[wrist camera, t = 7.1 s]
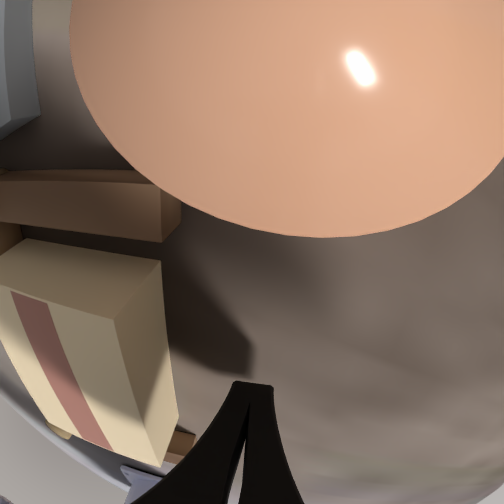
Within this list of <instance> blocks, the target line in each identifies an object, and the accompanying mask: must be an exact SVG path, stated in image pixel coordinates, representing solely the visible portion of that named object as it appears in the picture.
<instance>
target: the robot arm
mask: <svg viewBox="0 0 504 504" xmlns="http://www.w3.org/2000/svg"><path fill="white" fill-rule="evenodd" d="M273 392H274V388H273V387H272V386H271V385H264V384H256V383H249V382H242V381H235V382H233V384H232V386H231V389H230V391H229V393H228V395H227V397H226V399H225V401H224V403H223V405H222V406H221V408H220V410H219V412H218V413H217V415H216V416H215V418H214V419H213V421H212V422H211V424H210V425H209V427H208V428H207V430H206V431H205V432H204V434H203V435H202V436H201V437H200V439H199V440H198V441H197V443H196V444H195V445H194V446H193V448H192V449H191V450H190V451H189V452H188V453H187V455H186V456H185V457H184V458H183V459H182V460H181V461H180V462H179V463H178V464H177V465H176V466H175V467H174V468H173V469H172V470H171V471H170V472H169V473H168V474H167V475H166V476H165V477H164V478H161V477H157V476H154V475H151V474H147V473H144V472H141V471H138V470H135V469H132V468H129V467H127V466H123V465H122V466H121V468H120V470H121V471H122V473H123V474H124V475H125V477H126V478H127V480H128V481H129V482H130V484H131V488H130V490H129V493H128V495H127V498H126V500H125V503H124V504H227V503H228V498H229V494H230V490H231V486H232V483H233V479H234V476H235V473H236V470H237V466H238V463H239V459H240V456H241V453H242V449H243V446H244V442H245V453H244V466H243V480H242V488H241V493H240V498H239V503H238V504H304V502H303V500H302V498H301V495H300V493H299V491H298V489H297V486H296V484H295V482H294V479H293V477H292V474H291V471H290V468H289V466H288V463H287V459H286V456H285V453H284V450H283V446H282V443H281V438H280V434H279V430H278V425H277V420H276V414H275V407H274V394H273ZM245 439H246V440H245ZM0 504H13V503H12V502H11V501H9V500H8V499H6V498H5V497H3V496H1V495H0Z"/></svg>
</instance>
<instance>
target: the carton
mask: <svg viewBox="0 0 504 504" xmlns="http://www.w3.org/2000/svg"><path fill="white" fill-rule="evenodd" d="M0 339H1V342H2V344H3V346H4V348H5V350H6V352H7V354H8V356H9V358H10V360H11V361H12V363H13V365H14V367H15V369H16V371H17V373H18V374H19V376H20V378H21V380H22V381H23V383H24V385H25V386H26V388H27V390H28V391H29V393H30V395H31V396H32V398H33V400H34V401H35V403H36V404H37V406H38V407H39V409H40V410H41V412H42V413H43V415H44V416H45V418H46V419H47V421H48V422H49V423H51V424H53V425H55V426H57V427H59V428H61V429H63V430H65V431H67V432H69V433H71V434H73V435H75V436H77V437H79V438H82V439H84V440H86V441H88V442H91V443H93V444H95V445H98V446H100V447H103V448H105V449H108V450H110V451H113V452H115V453H118V454H121V455H123V456H126V457H129V458H132V459H135V460H138V461H141V462H144V463H147V464H150V465H153V466H157V467H160V468H161V465H162V462H163V459H164V456H165V454H166V451H167V448H168V445H169V443H170V440H171V437H172V434H173V432H174V429H175V426H176V423H177V421H178V418H179V415H178V409H177V403H176V397H175V390H174V384H173V377H172V370H171V363H170V355H169V347H168V339H167V330H166V320H165V310H164V299H163V287H162V274H161V260H154V259H148V258H141V257H135V256H129V255H123V254H117V253H110V252H104V251H98V250H92V249H86V248H80V247H75V246H69V245H63V244H57V243H52V242H46V241H40V240H35V239H29V238H26V239H24V240H23V241H21V242H20V243H18V244H17V245H15V246H14V247H12V248H11V249H9V250H8V251H6V252H5V253H4V254H2V255H1V256H0Z"/></svg>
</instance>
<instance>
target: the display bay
mask: <svg viewBox="0 0 504 504" xmlns="http://www.w3.org/2000/svg"><path fill="white" fill-rule="evenodd" d="M180 223H181V200H179V199H178V198H176V197H174V196H173V195H171V194H169V193H168V192H166V191H164V190H162V189H161V188H159V187H158V186H157V185H155V184H154V183H153V182H152V181H150V180H149V179H148V178H146V177H145V176H144V175H143V174H141V173H140V172H139V171H137V170H102V169H62V170H26V171H8V170H7V169H5V168H1V169H0V256H1V255H2V254H4V253H5V252H6V251H8V250H9V249H11V248H12V247H14V246H15V245H17V244H18V243H20V242H21V241H23V237H22V232H21V227H20V224H24V225H31V226H39V227H46V228H54V229H61V230H69V231H76V232H84V233H92V234H99V235H107V236H114V237H122V238H130V239H137V240H145V241H153V242H160V243H162V242H163V241H164V240H165V239H166V238H167V237H168V236H169V235H170V234H171V233H172V231H173V230H174V229H175V228H176V227H177V226H178V225H179V224H180ZM45 423H46V425H47V426H48V427H49V428H50V429H51V430H52V431H53V432H55V433H56V434H57V435H59V436H61V437H63V438H65V439H70V437H71V435H72V434H71V433H69V432H67V431H65V430H63V429H61V428H59V427H57V426H55V425H53V424H51V423H49V422H48V421H47V419H46V420H45ZM196 443H197V440H196V435H192V434H187V433H183V432H179V431H175V430H174V432H173V434H172V437H171V440H170V443H169V445H168V448H167V451H166V454H165V456H164V459H163V461H167V462H170V463H174V464H178V463H179V462H180V461H181V460H182V459H183V458H184V457H185V456H186V455H187V453H188V452H189V451H190V450H191V449H192V448H193V446H194V445H195V444H196Z"/></svg>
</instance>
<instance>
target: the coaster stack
mask: <svg viewBox="0 0 504 504" xmlns="http://www.w3.org/2000/svg"><path fill="white" fill-rule="evenodd" d="M39 115H41V111H40V105H39V99H38V92H37V84H36V75H35V65H34V53H33V35H32V0H0V141H1V140H2V139H4V138H5V137H6V136H8V135H9V134H11V133H12V132H14V131H15V130H17V129H18V128H20V127H21V126H23V125H25V124H26V123H28V122H29V121H31V120H33V119H34V118H36V117H38V116H39Z"/></svg>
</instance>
